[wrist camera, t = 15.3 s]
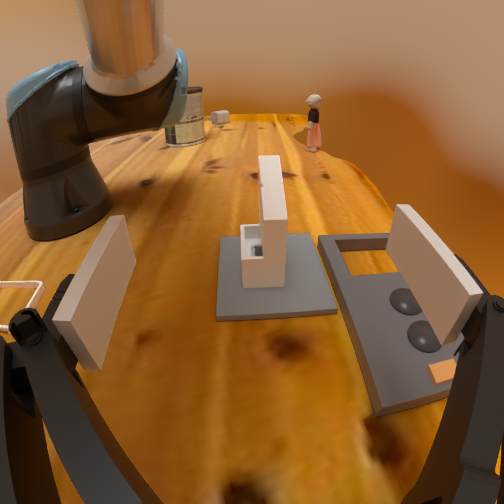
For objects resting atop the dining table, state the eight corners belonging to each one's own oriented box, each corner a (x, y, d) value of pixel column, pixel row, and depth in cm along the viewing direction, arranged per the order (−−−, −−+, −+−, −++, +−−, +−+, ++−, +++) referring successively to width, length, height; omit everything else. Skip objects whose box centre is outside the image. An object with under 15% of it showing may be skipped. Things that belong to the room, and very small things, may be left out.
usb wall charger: (229, 123, 93) (229, 111, 90) (211, 126, 89) (210, 114, 87) (222, 121, 95) (222, 110, 93) (204, 124, 92) (204, 113, 89)
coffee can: (158, 147, 71) (152, 93, 63) (177, 137, 79) (172, 88, 71) (195, 147, 68) (191, 89, 60) (211, 136, 77) (208, 85, 69)
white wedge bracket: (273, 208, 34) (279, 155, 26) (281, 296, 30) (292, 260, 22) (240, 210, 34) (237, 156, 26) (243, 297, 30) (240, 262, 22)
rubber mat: (220, 241, 34) (220, 236, 34) (309, 237, 35) (309, 232, 34) (216, 320, 25) (216, 315, 24) (336, 313, 25) (337, 308, 25)
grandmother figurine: (321, 154, 62) (324, 96, 55) (304, 152, 63) (305, 95, 55) (320, 145, 68) (323, 93, 61) (304, 144, 69) (306, 92, 62)
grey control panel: (317, 247, 33) (318, 232, 32) (403, 243, 33) (407, 229, 32) (375, 417, 17) (384, 404, 16) (489, 380, 17) (501, 367, 16)
